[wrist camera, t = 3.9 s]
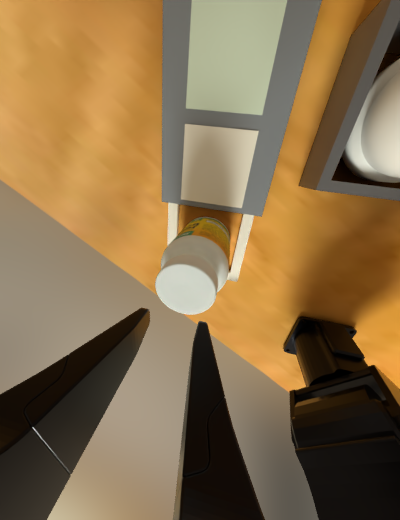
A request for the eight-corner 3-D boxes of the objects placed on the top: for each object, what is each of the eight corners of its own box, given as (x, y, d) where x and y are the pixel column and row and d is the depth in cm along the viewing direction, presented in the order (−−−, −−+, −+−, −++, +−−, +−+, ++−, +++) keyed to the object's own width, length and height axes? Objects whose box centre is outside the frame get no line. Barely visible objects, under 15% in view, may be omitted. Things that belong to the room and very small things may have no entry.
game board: (243, 279, 21) (243, 283, 20) (163, 264, 22) (161, 267, 21) (327, -29, 10) (333, -42, 10) (166, -29, 11) (162, -41, 11)
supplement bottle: (209, 269, 21) (191, 334, 13) (174, 241, 20) (130, 291, 12) (241, 237, 19) (246, 293, 10) (203, 204, 18) (173, 234, 9)
